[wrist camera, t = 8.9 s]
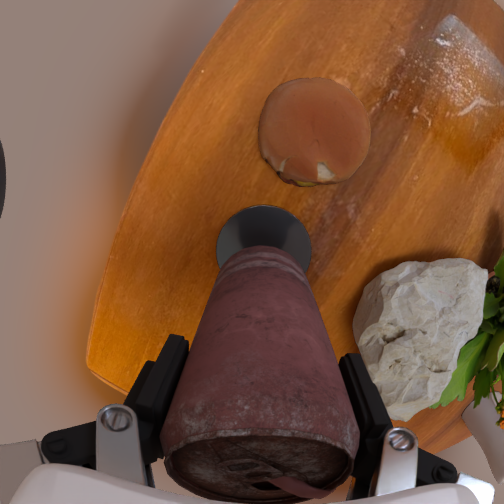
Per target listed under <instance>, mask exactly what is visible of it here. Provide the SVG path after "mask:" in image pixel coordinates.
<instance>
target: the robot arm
mask: <svg viewBox="0 0 504 504" xmlns="http://www.w3.org/2000/svg"><path fill="white" fill-rule="evenodd" d="M188 354H189V341H188V340H184V336H180V335H175V334H170V335H169V337H168V339H167V341H166V343H165V345H164V346H163V348H162V350H161V352H160V354H159V356H158V358H157V360H156V362H154V361H149V360H148V361H146V363H145V364H144V366H143V368H142V370H141V372H140V373H139V375H138V377H137V379H136V381H135V383H134V385H133V386H132V388H131V390H130V392H129V394H128V396H127V398H126V400H125V402H124V404H123V405H122V404H110V405H107V406H105V407H103V408H102V409H101V410H100V411H99V413H98V415H97V421H93V422H90V423H86V424H82V425H78V426H74V427H71V428H67V429H62V430H58V431H53V432H51V433H48V434H47V435H46V436H44V438H43V439H42V441H40V442H37V441H36V440H30V441H24V442H18V443H11V444H4V445H0V502H1V504H242V503H231V502H223V501H215V500H208V499H202V498H195V497H190V496H185V495H180V494H176V493H171V492H167V491H163V490H159V489H155V485H154V479H153V474H152V468H151V463H153V462H156V461H157V458H161V459H163V458H164V452H163V449H162V445H161V442H160V438H159V436H160V433H161V430H162V427H163V424H164V422H165V419H166V416H167V413H168V410H169V407H170V404H171V401H172V398H173V396H174V393H175V390H176V387H177V384H178V382H179V379H180V376H181V373H182V370H183V368H184V365H185V362H186V359H187V357H188ZM338 366H339V369H340V372H341V375H342V378H343V381H344V384H345V387H346V390H347V393H348V396H349V399H350V402H351V405H352V409H353V412H354V415H355V418H356V422H357V425H358V428H359V431H360V438H359V447H358V451H357V453H356V456H355V459H354V467H353V472H352V473H351V476H352V481H351V484H350V488H349V492H348V495H347V498H346V501H343V502H334V503H325V504H492V503H493V499H494V496H495V491H494V487H493V486H492V485H491V484H489V483H488V482H485V481H482V480H480V479H477V478H474V477H472V476H469V475H467V474H465V473H462V472H460V473H459V474H457V470H456V468H455V467H454V465H453V464H451V463H449V462H448V461H446V460H443V459H441V458H439V457H437V456H435V455H433V454H431V453H429V452H426V451H424V450H422V449H420V448H418V439H417V437H416V435H415V434H414V433H413V432H412V431H411V430H409V429H408V428H405V427H393V425H392V422H391V420H390V417H389V415H388V412H387V410H386V407H385V405H384V403H383V400H382V398H381V395H380V393H379V391H378V388H377V386H376V385H375V383H373V382H372V380H371V378H370V375H369V373H368V371H367V368H366V366H365V364H364V361H363V359H362V357H361V355H360V354H359V353H347V354H346V355H345V356H342V357H341V359H340V361H339V364H338Z"/></svg>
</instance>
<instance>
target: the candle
mask: <svg viewBox="0 0 504 504" xmlns="http://www.w3.org/2000/svg"><path fill="white" fill-rule="evenodd" d="M495 395H496V398H497V401H498V402H499V401H500V399H501V398H502V394H500V393H499V392H497V391H496V392H495ZM474 402H475V401H473V402H472V403H471V404H470V405H469V406H468V407H467V408H466V409H465V411H464V412H463V414H462V419H463V420H464V422H465V424H466V425H467V427H468V429H469V430H470V432H471V433H472V435H473V436H474V437H475V439H476V440H477V442H478V443H479V445H480V446H481V448H482V450H483V451H484V453H485V455H486V458H487V460H488V463H489V465H490V468H491V471H492V473H493V475H494V478H495V479H496V481H497V482H498V483H499V484H502V483H503V482H504V429H503V430H502V429H501V428H500V425H499V427H498V426H497V425H495V424H496V421H498V420H499V419H500V416H501V414H497V411H496V410H495V407H496V405H497V404H496V401H495V399H494V396H493V393H492V392H491V393H490V394H489V399H488V395H487V397H486V398H483V396H482V399H481V402H480V405H477V407H476V408H473V407H474Z"/></svg>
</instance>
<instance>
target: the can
mask: <svg viewBox="0 0 504 504" xmlns="http://www.w3.org/2000/svg"><path fill="white" fill-rule="evenodd" d="M159 438H160V442H161V445H162V449H163V452H164V456H165V460H164V465H165V468H166V471H167V474H168V475H169V476H170V477H171V478H172V479H173V480H174V481H175V482H176V483H177V484H178V485H179V486H181V487H183V488H185V489H186V490H188V491H190V492H192V493H194V494H196V495H198V496H201V497H204V498H207V499H209V500H215V501H223V502H231V503H242V504H295V503H299V502H303V501H308V500H310V499H313V498H317V499H321V498H324V497H326V496H327V495H329V494H330V493H331V492H333V491H334V490H335V489H336V487H338V486H339V485H341V484H343V483H344V482H345V481H346V479H347V478H348V477H349V476H350V475H351V473H352V472H353V467H354V459H355V456H356V453H357V451H358V447H359V438H360V431H359V428H358V425H357V422H356V418H355V415H354V412H353V409H352V405H351V402H350V399H349V396H348V393H347V390H346V387H345V384H344V381H343V378H342V375H341V372H340V369H339V366H338V363H337V360H336V357H335V354H334V351H333V348H332V345H331V342H330V340H329V337H328V334H327V331H326V328H325V326H324V323H323V320H322V317H321V314H320V312H319V309H318V306H317V304H316V301H315V298H314V296H313V293H312V290H311V288H310V285H309V282H308V280H307V277H306V274H305V273H304V271H303V269H302V267H301V265H300V264H299V262H298V261H297V260H296V259H294V258H293V257H292V256H291V255H290V254H289V253H287V252H285V251H283V250H280V249H278V248H276V247H270V246H261V245H259V246H254V247H249V248H244V249H242V250H240V251H239V252H237V253H235V254H233V255H232V256H231V257H230V258H229V259H228V260H227V261H226V262H225V263H224V264H223V265H222V267H221V269H220V271H219V274H218V276H217V279H216V281H215V284H214V286H213V289H212V292H211V294H210V297H209V299H208V302H207V305H206V307H205V310H204V313H203V315H202V318H201V321H200V323H199V326H198V329H197V331H196V334H195V337H194V340H193V342H192V345H191V348H190V350H189V354H188V357H187V359H186V362H185V365H184V368H183V370H182V373H181V376H180V379H179V382H178V384H177V387H176V390H175V393H174V396H173V398H172V401H171V404H170V407H169V410H168V413H167V416H166V419H165V422H164V424H163V427H162V430H161V433H160V436H159Z"/></svg>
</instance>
